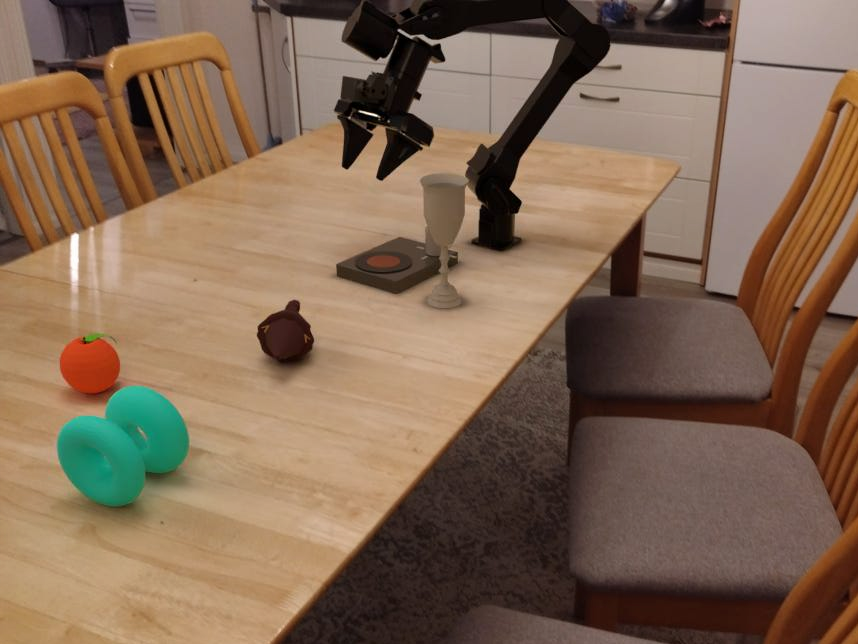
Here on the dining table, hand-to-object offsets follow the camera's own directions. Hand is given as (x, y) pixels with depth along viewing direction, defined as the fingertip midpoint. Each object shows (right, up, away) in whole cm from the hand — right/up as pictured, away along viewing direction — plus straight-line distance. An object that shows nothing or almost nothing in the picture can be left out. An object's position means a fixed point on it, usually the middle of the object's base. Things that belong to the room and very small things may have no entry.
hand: (361, 174), depth 153 cm
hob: (+5, -13, +6) cm, 16 cm away
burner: (+3, -13, +3) cm, 14 cm away
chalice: (+13, -21, -4) cm, 25 cm away
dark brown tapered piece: (-7, -31, -21) cm, 39 cm away
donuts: (-19, -48, -47) cm, 70 cm away
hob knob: (+11, -10, +7) cm, 17 cm away
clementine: (-29, -36, -29) cm, 55 cm away
